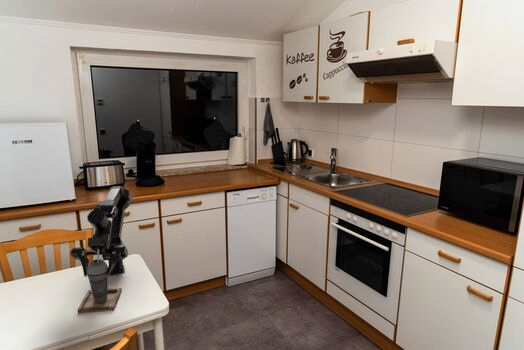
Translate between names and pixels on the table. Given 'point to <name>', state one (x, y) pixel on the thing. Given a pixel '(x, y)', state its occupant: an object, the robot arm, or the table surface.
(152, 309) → the table surface
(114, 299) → the walnut tray
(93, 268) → the beverage cup
